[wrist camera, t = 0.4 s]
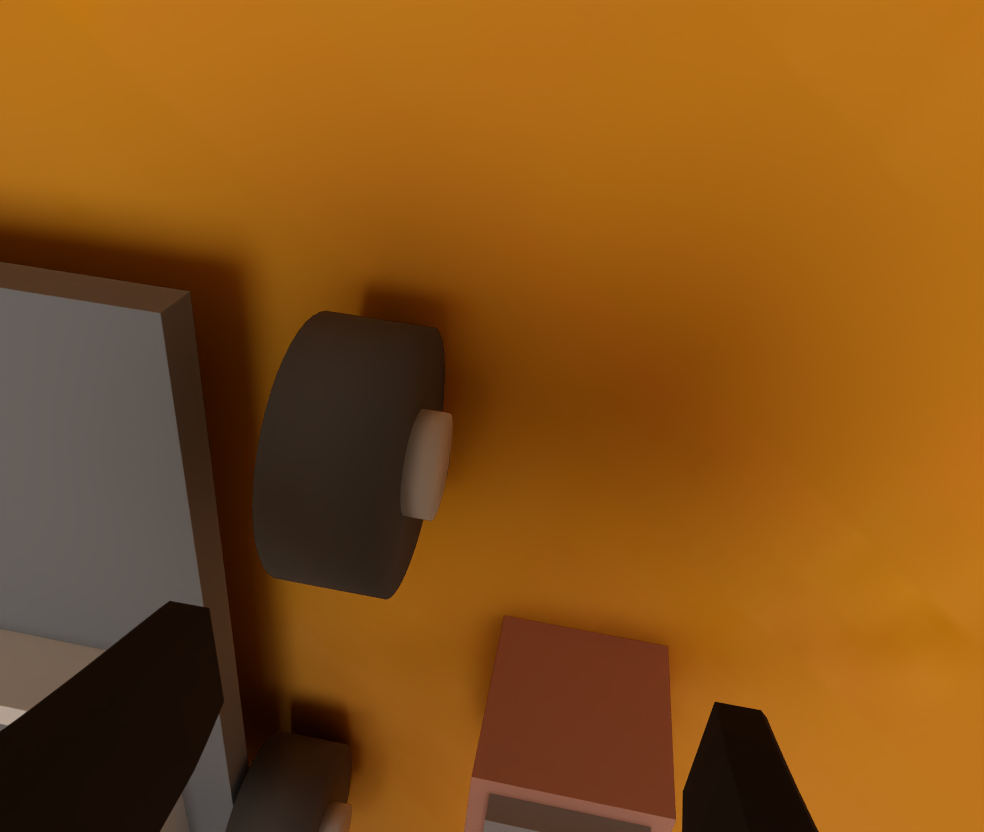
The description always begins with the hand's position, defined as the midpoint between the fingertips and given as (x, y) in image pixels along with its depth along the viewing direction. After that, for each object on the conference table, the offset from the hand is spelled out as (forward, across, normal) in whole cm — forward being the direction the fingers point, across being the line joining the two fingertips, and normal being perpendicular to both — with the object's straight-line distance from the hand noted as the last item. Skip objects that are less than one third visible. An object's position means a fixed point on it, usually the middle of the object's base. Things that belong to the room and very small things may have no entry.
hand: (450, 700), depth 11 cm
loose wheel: (+10, +3, +1) cm, 10 cm away
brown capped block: (+10, -2, +11) cm, 15 cm away
